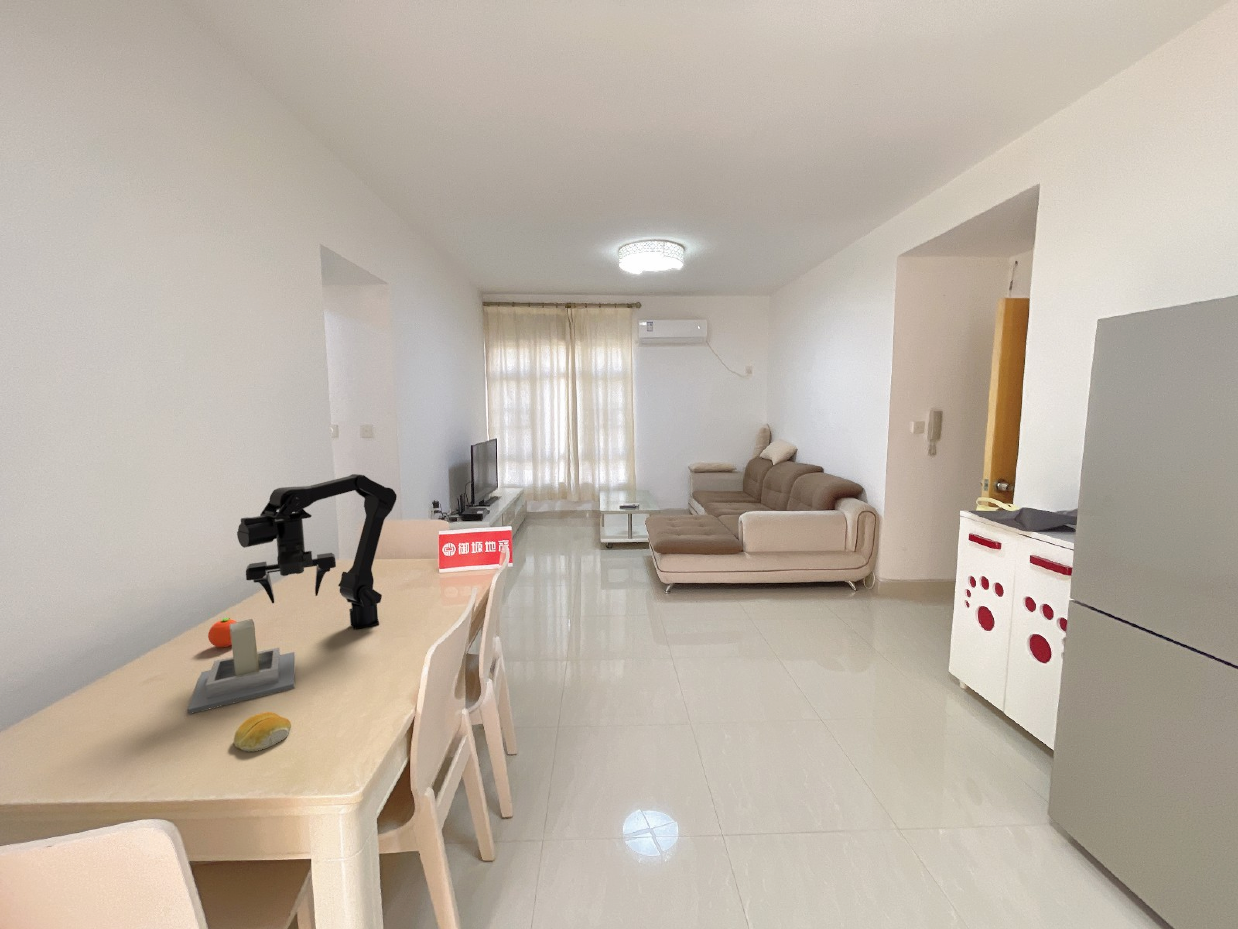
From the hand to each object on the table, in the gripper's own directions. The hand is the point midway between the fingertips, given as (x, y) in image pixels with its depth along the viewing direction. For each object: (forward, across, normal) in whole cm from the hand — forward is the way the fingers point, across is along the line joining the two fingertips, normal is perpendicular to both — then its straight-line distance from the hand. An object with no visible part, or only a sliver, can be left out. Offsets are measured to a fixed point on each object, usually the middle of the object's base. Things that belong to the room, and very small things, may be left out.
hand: (295, 599), depth 131 cm
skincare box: (+12, -10, -13) cm, 20 cm away
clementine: (+13, -16, +13) cm, 25 cm away
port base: (+13, -10, -13) cm, 21 cm away
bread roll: (+14, -6, -39) cm, 42 cm away
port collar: (+13, -10, -13) cm, 21 cm away
